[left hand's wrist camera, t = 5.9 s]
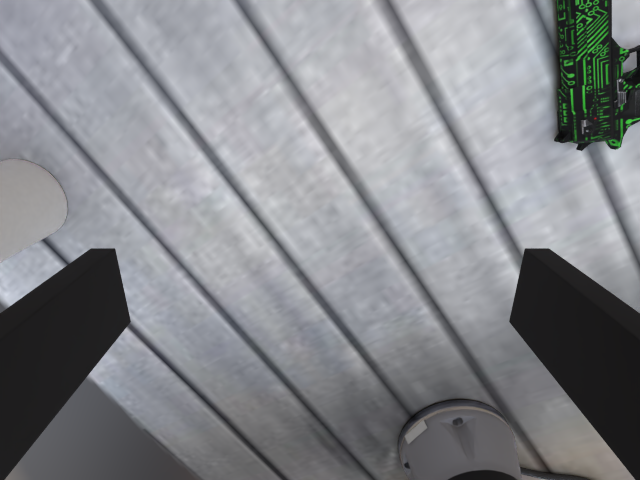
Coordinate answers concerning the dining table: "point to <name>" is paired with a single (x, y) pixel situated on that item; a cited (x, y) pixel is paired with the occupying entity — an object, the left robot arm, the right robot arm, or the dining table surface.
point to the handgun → (594, 77)
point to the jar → (28, 206)
